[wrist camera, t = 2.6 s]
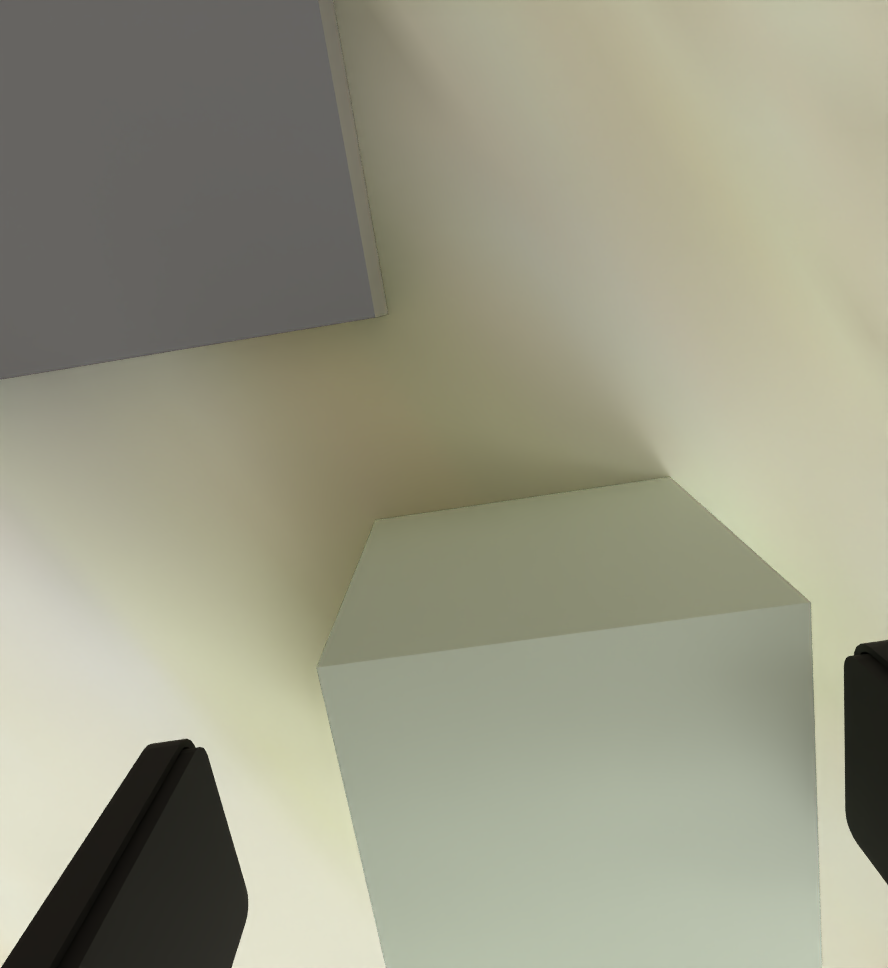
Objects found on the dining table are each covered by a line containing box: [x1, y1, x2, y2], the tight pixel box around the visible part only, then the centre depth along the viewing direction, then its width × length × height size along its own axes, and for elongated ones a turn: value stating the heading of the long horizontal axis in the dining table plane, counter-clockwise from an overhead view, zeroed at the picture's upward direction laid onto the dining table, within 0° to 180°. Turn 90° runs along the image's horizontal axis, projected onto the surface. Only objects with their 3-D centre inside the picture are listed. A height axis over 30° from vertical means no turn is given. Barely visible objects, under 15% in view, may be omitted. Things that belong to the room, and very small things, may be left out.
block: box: [317, 477, 822, 968], centre depth 12 cm, size 6×6×6 cm
